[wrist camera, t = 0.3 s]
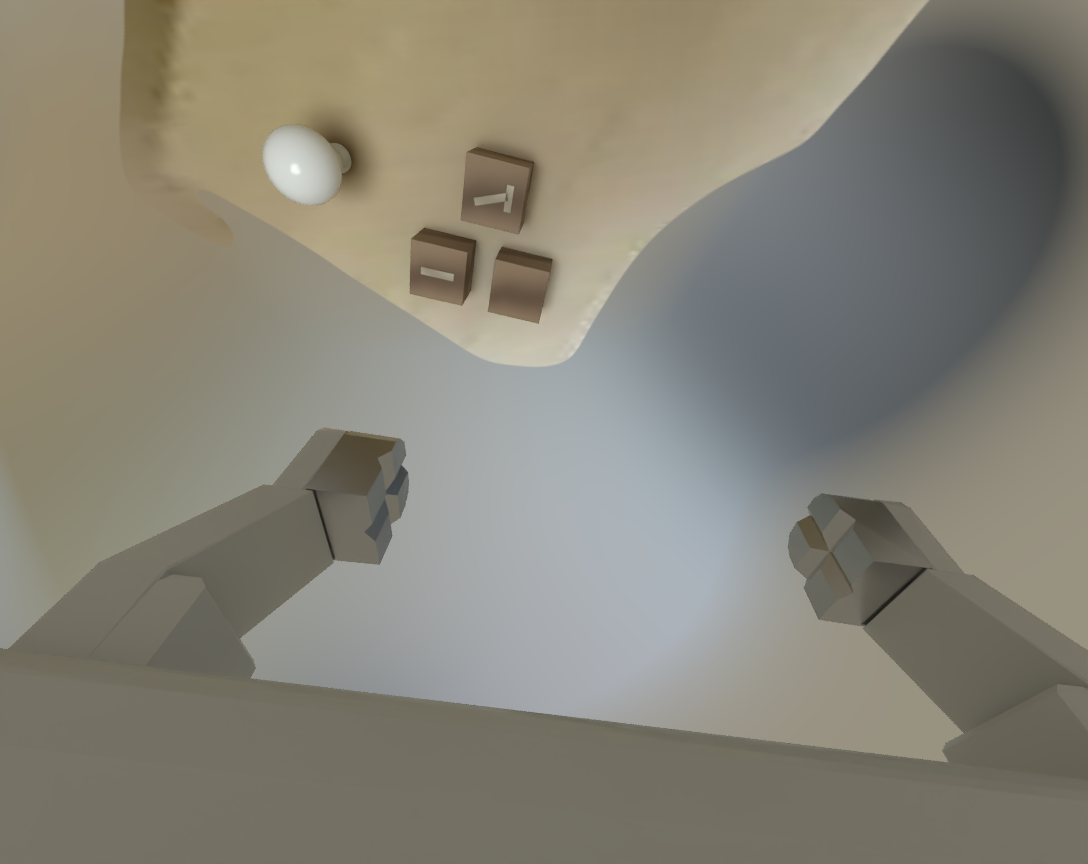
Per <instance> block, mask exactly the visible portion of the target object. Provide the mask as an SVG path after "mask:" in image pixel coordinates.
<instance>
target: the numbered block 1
mask: <svg viewBox="0 0 1088 864" xmlns="http://www.w3.org/2000/svg"><path fill="white" fill-rule="evenodd" d="M475 246H476V240H472V239H468V238H464V237H459V236H455V235H451V234H447V233H443V232H439V231H435V230H431V229H426V228H424V229H422V230H421V231H420V232H419V233H418V234H416V235H415V236H414V237H413V238H412V239H411V262H410V294H413V295H418V296H422V297H426V298H431V299H435V300H439V301H444V302H448V303H452V304H457V305H461V306H462V305H463V303H464V301H465V300H466V298H467V296H468V294H469V293H470V291H471V283H472V273H473V264H474V255H475Z"/></svg>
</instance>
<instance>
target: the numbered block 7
mask: <svg viewBox="0 0 1088 864" xmlns="http://www.w3.org/2000/svg"><path fill="white" fill-rule="evenodd" d="M533 164H534V162H531V161H527V160H523V159H520V158H516V157H512V156H508V155H504V154H500V153H496V152H492V151H489V150H485V149H481V148H477V147H476V148H474V149H472V150H470V151H468V152H467V156H466V167H465V179H464V190H463V202H462V213H461V220H462V221H466V222H470V223H474V224H478V225H482V226H487V227H491V228H495V229H499V230H503V231H507V232H511V233H515V234H519V232H520V230H521V228H522V226H523V223H524V217H525V211H526V206H527V200H528V194H529V188H530V182H531V176H532V170H533Z"/></svg>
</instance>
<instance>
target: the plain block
mask: <svg viewBox="0 0 1088 864" xmlns="http://www.w3.org/2000/svg"><path fill="white" fill-rule="evenodd" d="M551 264H552V259H549V258H545V257H541V256H537V255H533V254H529V253H525V252H521V251H517V250H513V249H509V248H504V247H502V248H501V250H500V251H499V253H498V255H497V257H496V259H495V266H494V272H493V279H492V286H491V293H490V300H489V307H488V312H491V313H495V314H500V315H504V316H508V317H512V318H517V319H521V320H525V321H530V322H534V323H538V324H539V320H540V316H541V311H542V307H543V302H544V298H545V293H546V289H547V284H548V280H549V275H550V270H551Z"/></svg>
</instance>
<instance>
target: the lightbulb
mask: <svg viewBox="0 0 1088 864" xmlns="http://www.w3.org/2000/svg"><path fill="white" fill-rule="evenodd" d="M262 160H263V165H264V168H265V171H266V174H267V176H268V178H269V179H270V181H271V182H272V184H273V185H274V186H275V188H276V189H277V190H278V191H279V192H280V193H281V194H283V195H284V196H285V197H287V198H288V199H290V200H292V201H294V202H296V203H299V204H302V205H306V206H318V205H322V204H325V203H327V202H329V201H330V200H331V199H333V198H334V197H335V195H336V194H337V193H338V191H339V189H340V186H341V182H342V173H345V172H347V171H348V170H349V169H350V167H351V157H350V154H349V152H348V151H347V149H346V148H345V147H344V146H342V145H341V144H338V143H329V142H328V141H327V140H326V139H325V138H324V137H323V136H322V135H321V134H319V133H318V132H316V131H315V130H313V129H311V128H309V127H306V126H303V125H298V124H286V125H282V126H280V127H277V128H276V129H274V130H273V131H272V132H271V133H270V134H269V135H268V136H267V138H266V140H265V142H264V145H263V150H262Z"/></svg>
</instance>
